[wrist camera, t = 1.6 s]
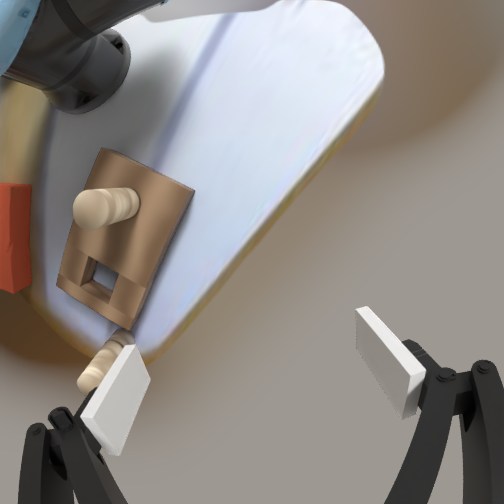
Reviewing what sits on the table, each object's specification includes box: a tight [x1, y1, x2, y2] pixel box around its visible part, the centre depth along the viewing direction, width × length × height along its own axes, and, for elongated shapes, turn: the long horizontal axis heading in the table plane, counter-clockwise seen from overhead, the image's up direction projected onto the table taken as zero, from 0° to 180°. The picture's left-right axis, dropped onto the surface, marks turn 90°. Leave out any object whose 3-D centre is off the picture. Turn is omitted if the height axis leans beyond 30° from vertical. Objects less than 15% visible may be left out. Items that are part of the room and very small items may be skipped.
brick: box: [0, 183, 32, 294], centre depth 35 cm, size 18×9×6 cm, turn 171°
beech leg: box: [77, 328, 135, 397], centre depth 36 cm, size 4×4×14 cm
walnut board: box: [56, 148, 195, 331], centre depth 32 cm, size 14×22×14 cm, turn 152°
